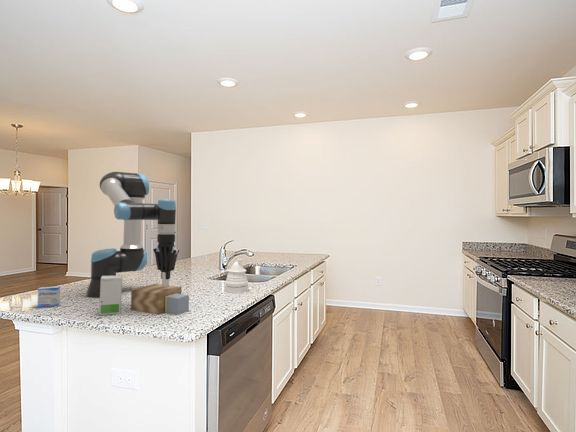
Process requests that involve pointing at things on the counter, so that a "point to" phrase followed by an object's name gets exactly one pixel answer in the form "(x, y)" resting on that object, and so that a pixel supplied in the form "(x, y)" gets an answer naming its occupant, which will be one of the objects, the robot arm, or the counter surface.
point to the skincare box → (110, 295)
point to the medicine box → (48, 296)
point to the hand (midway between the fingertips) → (165, 286)
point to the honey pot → (236, 279)
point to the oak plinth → (152, 298)
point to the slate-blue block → (176, 303)
